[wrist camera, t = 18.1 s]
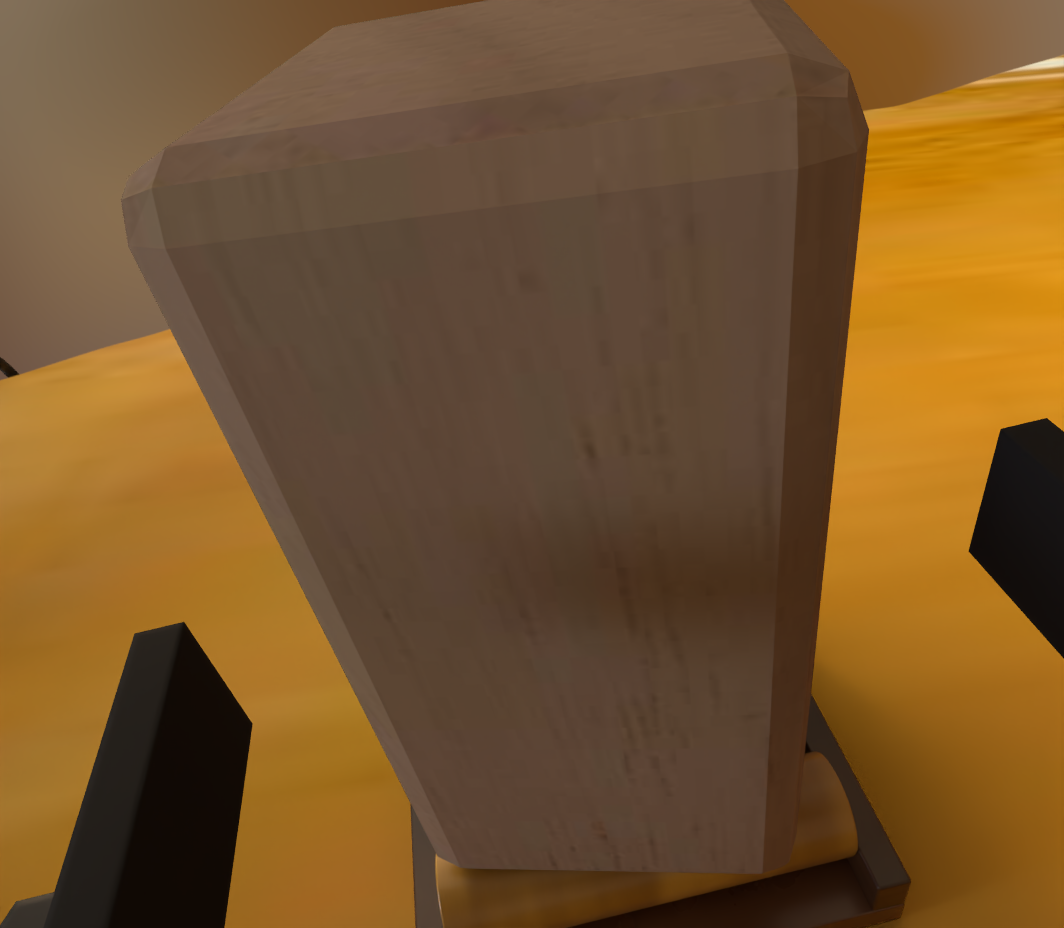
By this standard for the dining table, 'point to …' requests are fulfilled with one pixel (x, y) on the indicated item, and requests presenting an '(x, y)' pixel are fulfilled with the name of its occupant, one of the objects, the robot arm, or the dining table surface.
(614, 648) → the block
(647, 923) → the brown tray
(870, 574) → the dining table surface
